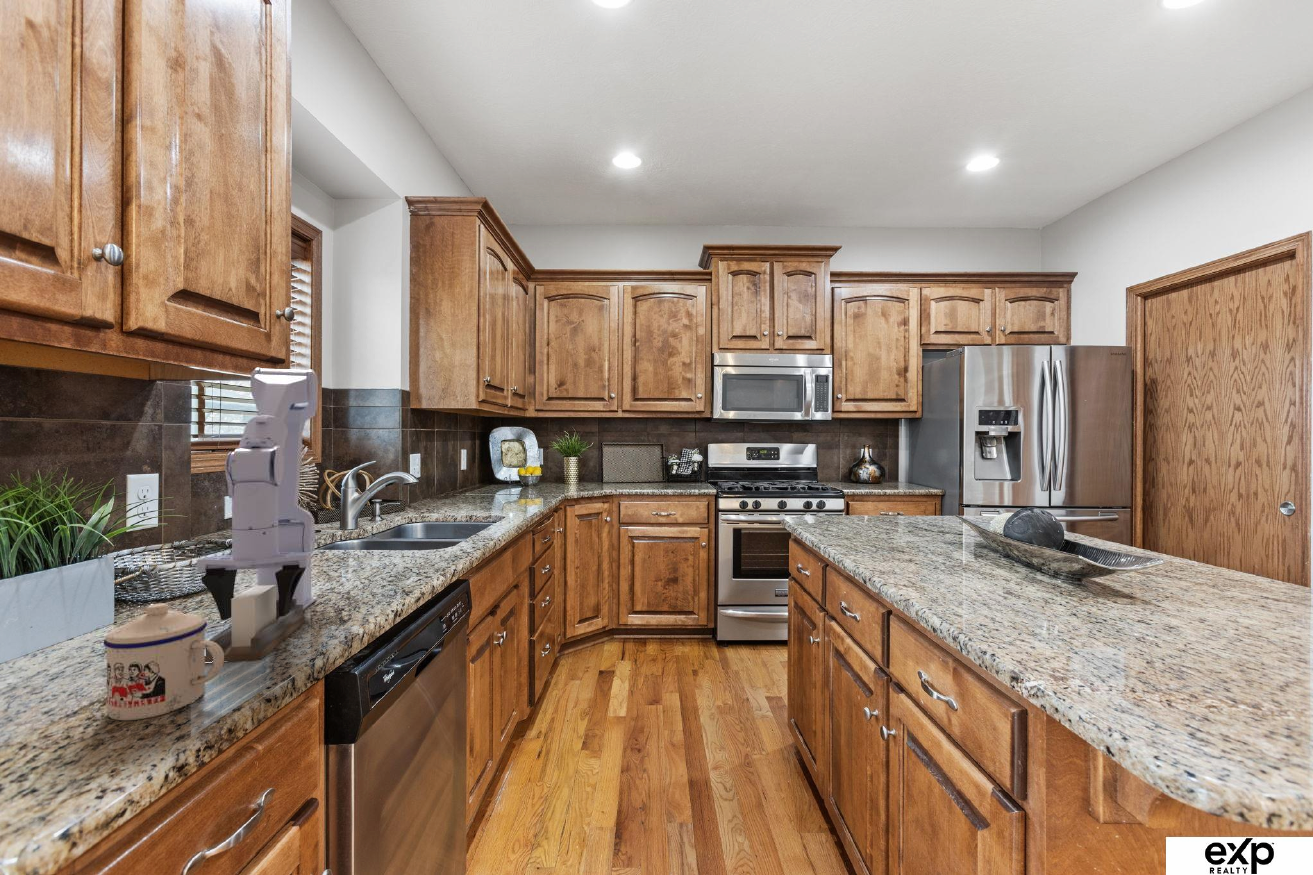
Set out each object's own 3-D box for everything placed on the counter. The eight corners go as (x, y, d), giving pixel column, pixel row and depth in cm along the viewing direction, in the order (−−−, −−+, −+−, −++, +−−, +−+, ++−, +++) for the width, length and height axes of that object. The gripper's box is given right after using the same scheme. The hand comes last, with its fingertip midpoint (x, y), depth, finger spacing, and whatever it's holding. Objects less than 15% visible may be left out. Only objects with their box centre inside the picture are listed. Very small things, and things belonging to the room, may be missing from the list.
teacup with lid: (79, 723, 61) (79, 618, 61) (152, 686, 71) (151, 594, 70) (191, 722, 62) (190, 617, 62) (249, 685, 71) (248, 593, 71)
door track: (257, 625, 93) (257, 601, 93) (304, 621, 94) (304, 598, 94) (203, 663, 77) (203, 635, 77) (260, 659, 79) (260, 631, 79)
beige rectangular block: (231, 647, 81) (231, 598, 81) (254, 630, 88) (254, 585, 87) (255, 645, 81) (254, 597, 81) (276, 628, 88) (276, 584, 88)
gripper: (184, 533, 79) (184, 628, 79) (298, 529, 82) (298, 621, 83) (211, 525, 86) (212, 613, 86) (316, 522, 89) (316, 606, 89)
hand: (256, 616), depth 85 cm, fingers open, 7 cm apart
